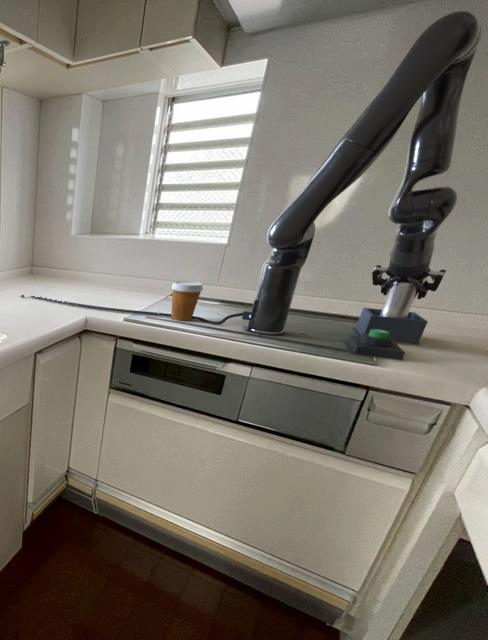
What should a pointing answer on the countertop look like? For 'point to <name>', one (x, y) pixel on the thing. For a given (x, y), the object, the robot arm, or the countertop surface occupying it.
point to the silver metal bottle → (399, 300)
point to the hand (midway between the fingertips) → (402, 294)
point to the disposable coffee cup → (184, 299)
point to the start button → (378, 333)
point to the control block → (375, 346)
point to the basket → (393, 325)
